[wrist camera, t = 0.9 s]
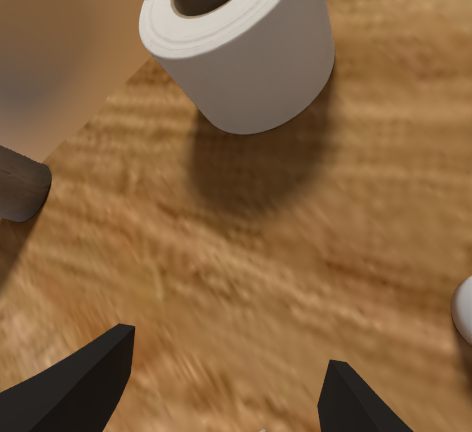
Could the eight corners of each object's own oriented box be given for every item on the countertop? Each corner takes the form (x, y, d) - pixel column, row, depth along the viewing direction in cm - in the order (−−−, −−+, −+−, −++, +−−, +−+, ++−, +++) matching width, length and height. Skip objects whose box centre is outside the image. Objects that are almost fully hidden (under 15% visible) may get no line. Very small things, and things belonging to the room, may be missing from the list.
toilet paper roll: (322, -10, 32) (296, -140, 23) (350, 103, 27) (329, -11, 18) (200, 51, 38) (141, -34, 29) (202, 153, 33) (129, 87, 24)
